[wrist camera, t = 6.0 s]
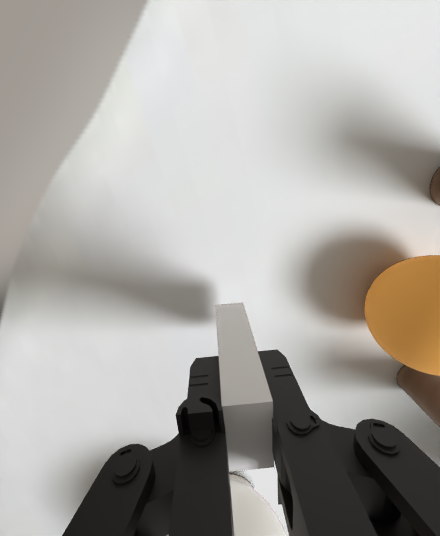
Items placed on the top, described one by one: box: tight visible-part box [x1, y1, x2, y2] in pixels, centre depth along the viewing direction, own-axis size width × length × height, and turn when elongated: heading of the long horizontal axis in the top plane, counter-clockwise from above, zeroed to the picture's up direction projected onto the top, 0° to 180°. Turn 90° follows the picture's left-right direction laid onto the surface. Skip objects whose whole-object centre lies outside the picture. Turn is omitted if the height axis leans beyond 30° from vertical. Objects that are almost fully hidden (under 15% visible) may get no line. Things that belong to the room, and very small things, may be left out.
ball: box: [365, 255, 440, 376], centre depth 13 cm, size 6×6×6 cm
